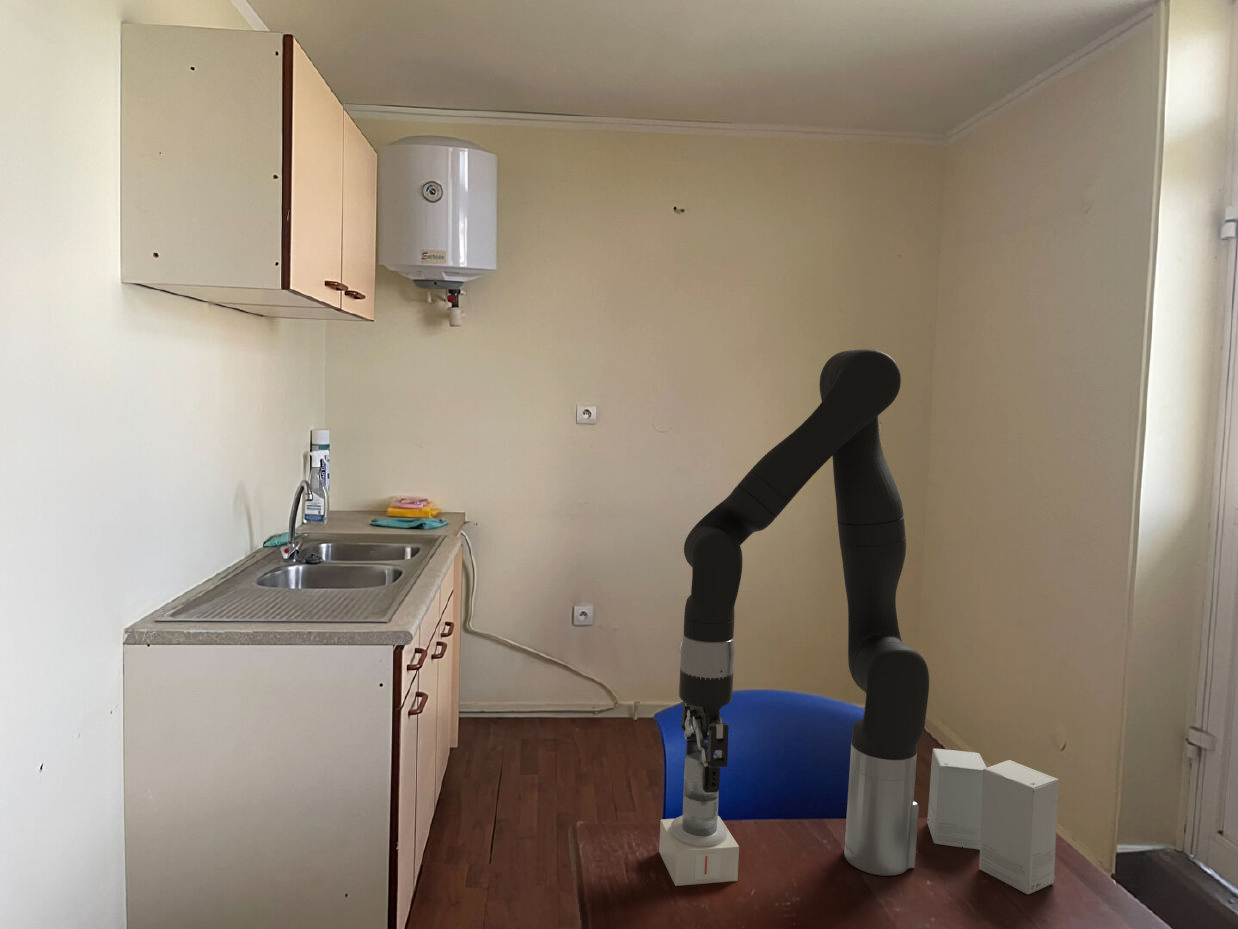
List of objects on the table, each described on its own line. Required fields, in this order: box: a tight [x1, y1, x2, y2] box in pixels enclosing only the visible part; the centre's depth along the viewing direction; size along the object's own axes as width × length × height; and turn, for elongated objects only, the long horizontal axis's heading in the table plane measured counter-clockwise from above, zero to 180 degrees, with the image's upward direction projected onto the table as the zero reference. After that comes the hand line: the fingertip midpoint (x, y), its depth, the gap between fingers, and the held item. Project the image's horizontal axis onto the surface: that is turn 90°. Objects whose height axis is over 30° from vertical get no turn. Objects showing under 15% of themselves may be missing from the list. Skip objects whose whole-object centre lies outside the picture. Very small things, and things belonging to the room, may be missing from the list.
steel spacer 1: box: [683, 753, 720, 802], centre depth 127 cm, size 5×5×5 cm
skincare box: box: [978, 759, 1060, 895], centre depth 128 cm, size 8×7×16 cm
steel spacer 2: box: [681, 793, 719, 836], centre depth 128 cm, size 5×5×5 cm
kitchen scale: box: [658, 815, 740, 887], centre depth 128 cm, size 9×9×6 cm
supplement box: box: [926, 748, 987, 851], centre depth 140 cm, size 7×7×13 cm
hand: (701, 778), depth 127 cm, fingers open, 8 cm apart
